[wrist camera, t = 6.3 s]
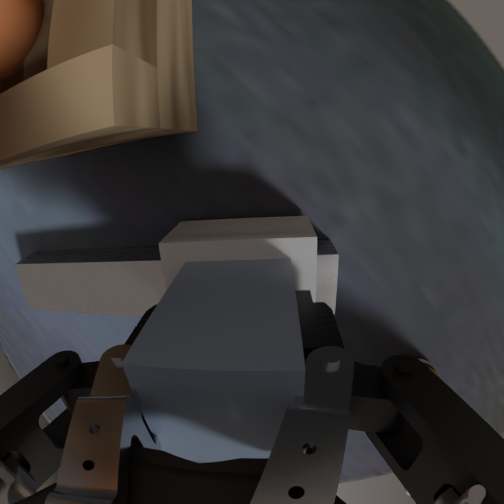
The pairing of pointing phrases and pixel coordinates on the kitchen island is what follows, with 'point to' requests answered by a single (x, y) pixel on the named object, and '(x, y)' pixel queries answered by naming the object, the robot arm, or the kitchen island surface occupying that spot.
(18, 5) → the brown egg
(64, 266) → the rail
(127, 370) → the carriage
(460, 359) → the kitchen island surface
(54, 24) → the open wooden box
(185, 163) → the kitchen island surface
